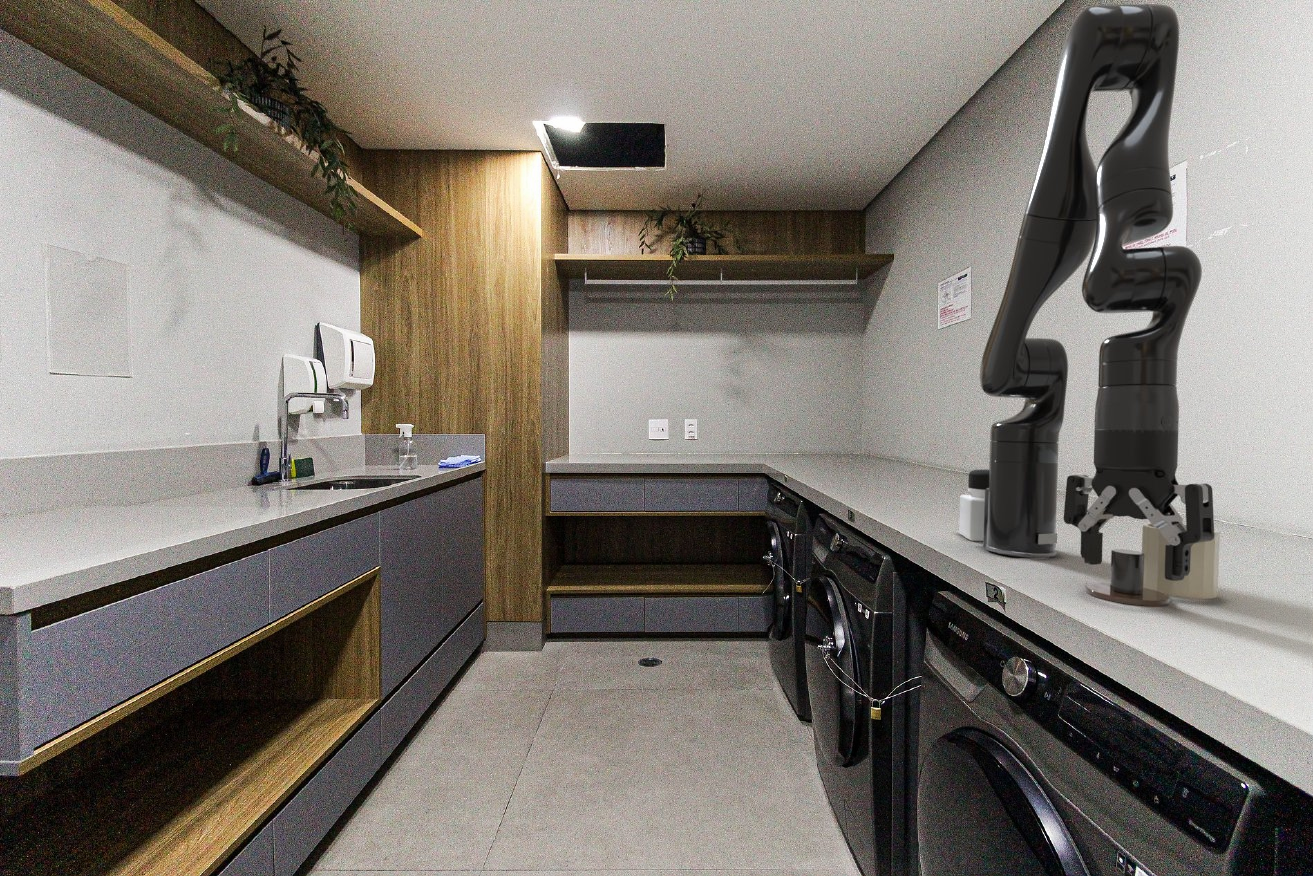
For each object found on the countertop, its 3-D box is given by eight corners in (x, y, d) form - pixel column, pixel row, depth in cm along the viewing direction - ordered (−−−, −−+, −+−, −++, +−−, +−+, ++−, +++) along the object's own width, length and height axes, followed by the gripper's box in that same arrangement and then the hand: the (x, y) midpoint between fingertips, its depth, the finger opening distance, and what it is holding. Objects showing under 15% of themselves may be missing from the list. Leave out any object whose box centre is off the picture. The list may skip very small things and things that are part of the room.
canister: (1125, 587, 78) (1127, 523, 78) (1174, 586, 79) (1176, 522, 79) (1180, 604, 71) (1183, 533, 71) (1233, 602, 72) (1236, 532, 72)
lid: (1069, 593, 75) (1071, 545, 75) (1125, 591, 76) (1127, 544, 76) (1126, 612, 67) (1128, 559, 67) (1187, 610, 69) (1189, 558, 68)
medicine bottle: (1015, 543, 107) (1017, 472, 106) (969, 541, 108) (971, 470, 108) (1001, 536, 114) (1003, 469, 113) (958, 533, 115) (960, 467, 115)
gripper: (1231, 428, 66) (1227, 583, 66) (1092, 427, 79) (1089, 557, 79) (1188, 427, 63) (1183, 589, 63) (1051, 426, 76) (1048, 561, 76)
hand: (1131, 571), depth 71 cm, fingers open, 8 cm apart
